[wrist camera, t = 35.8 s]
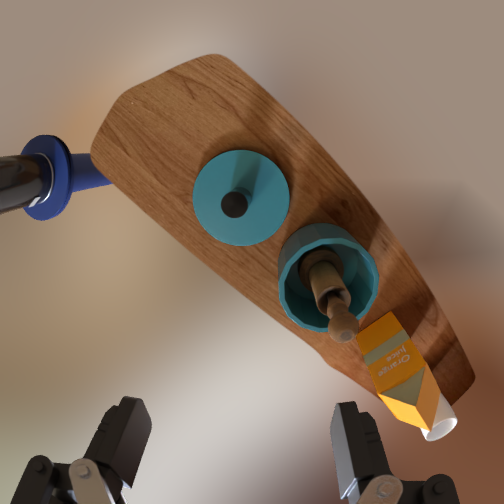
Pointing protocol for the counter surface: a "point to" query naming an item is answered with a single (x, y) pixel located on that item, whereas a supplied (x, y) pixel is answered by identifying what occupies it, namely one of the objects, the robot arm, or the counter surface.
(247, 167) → the lid
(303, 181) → the counter surface
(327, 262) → the mortar and pestle
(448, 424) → the drinking glass
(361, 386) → the counter surface
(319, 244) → the pot
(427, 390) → the orange juice
